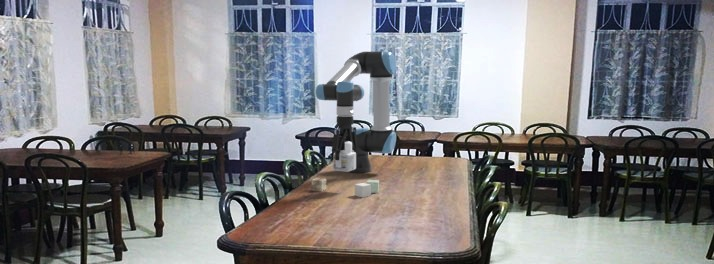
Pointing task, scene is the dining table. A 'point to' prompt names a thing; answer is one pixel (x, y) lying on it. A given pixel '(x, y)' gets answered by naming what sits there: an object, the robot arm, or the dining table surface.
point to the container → (346, 158)
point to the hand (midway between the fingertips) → (344, 165)
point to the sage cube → (374, 185)
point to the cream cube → (362, 190)
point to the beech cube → (318, 184)
